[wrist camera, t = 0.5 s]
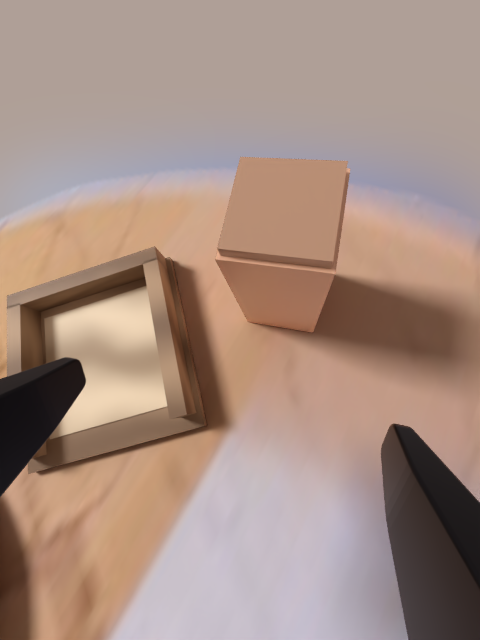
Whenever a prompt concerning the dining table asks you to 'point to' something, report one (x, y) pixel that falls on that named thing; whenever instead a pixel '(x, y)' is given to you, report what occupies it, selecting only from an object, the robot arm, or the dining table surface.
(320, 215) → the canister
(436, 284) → the dining table surface
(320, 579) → the dining table surface
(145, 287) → the square wooden tray
